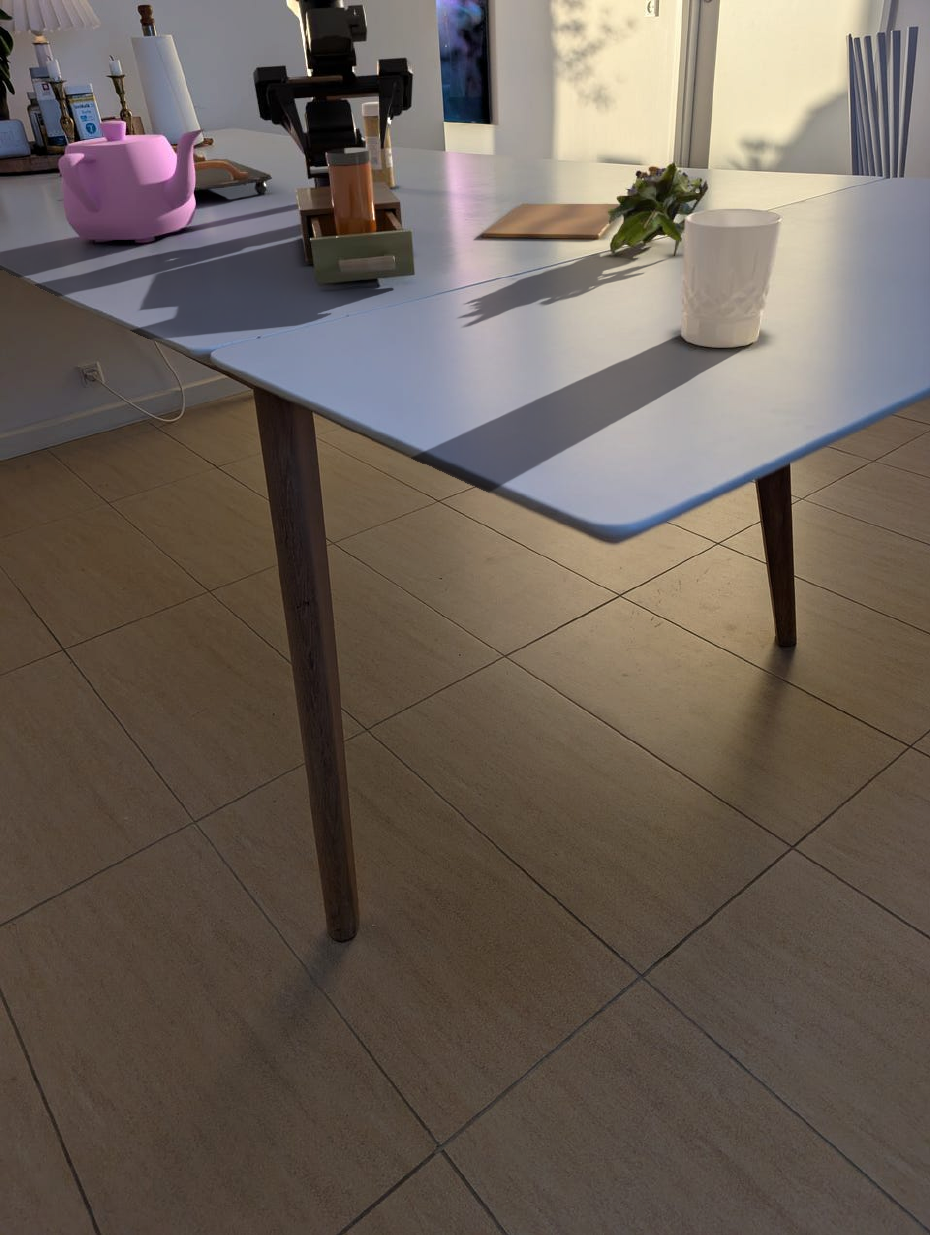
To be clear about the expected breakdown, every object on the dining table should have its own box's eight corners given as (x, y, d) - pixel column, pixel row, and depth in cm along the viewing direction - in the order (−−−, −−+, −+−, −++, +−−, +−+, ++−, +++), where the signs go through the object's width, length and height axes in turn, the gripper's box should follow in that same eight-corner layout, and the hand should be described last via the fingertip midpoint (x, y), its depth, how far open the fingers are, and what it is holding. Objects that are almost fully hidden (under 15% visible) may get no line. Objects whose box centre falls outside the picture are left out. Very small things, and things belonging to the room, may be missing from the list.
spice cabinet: (404, 256, 113) (400, 201, 109) (307, 265, 111) (299, 210, 108) (389, 230, 127) (384, 181, 124) (302, 238, 126) (295, 188, 122)
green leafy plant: (643, 287, 115) (684, 198, 114) (695, 288, 106) (741, 191, 104) (578, 244, 110) (620, 149, 108) (627, 241, 100) (675, 137, 99)
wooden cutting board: (482, 237, 120) (482, 233, 120) (522, 207, 138) (522, 203, 137) (598, 238, 116) (599, 234, 116) (625, 207, 133) (625, 203, 133)
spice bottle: (329, 257, 106) (316, 152, 100) (359, 249, 109) (347, 146, 103) (359, 262, 103) (347, 154, 97) (388, 253, 106) (378, 148, 100)
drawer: (420, 284, 97) (416, 238, 95) (318, 293, 96) (312, 247, 93) (397, 246, 114) (394, 206, 112) (310, 254, 113) (305, 214, 110)
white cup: (664, 327, 83) (673, 212, 77) (747, 321, 83) (761, 205, 78) (689, 354, 76) (700, 229, 71) (778, 347, 77) (797, 222, 71)
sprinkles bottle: (399, 187, 159) (392, 101, 152) (377, 191, 157) (369, 104, 150) (387, 185, 162) (379, 100, 155) (365, 188, 160) (356, 103, 153)
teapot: (37, 252, 126) (1, 133, 118) (126, 223, 142) (100, 116, 134) (175, 256, 120) (148, 129, 111) (251, 224, 136) (232, 112, 128)
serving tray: (281, 195, 159) (275, 156, 155) (151, 212, 150) (142, 171, 147) (225, 172, 188) (219, 139, 184) (113, 185, 179) (104, 151, 176)
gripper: (238, -17, 99) (255, 102, 96) (403, -26, 102) (425, 91, 99) (252, 63, 110) (268, 173, 107) (401, 54, 112) (420, 161, 109)
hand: (344, 149), depth 105 cm, fingers open, 9 cm apart
